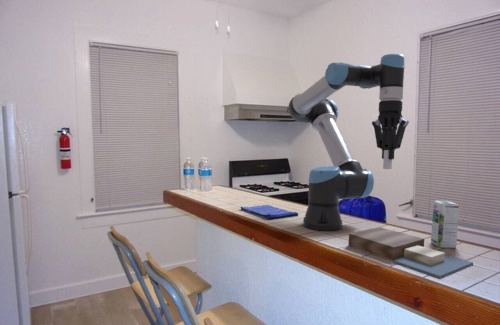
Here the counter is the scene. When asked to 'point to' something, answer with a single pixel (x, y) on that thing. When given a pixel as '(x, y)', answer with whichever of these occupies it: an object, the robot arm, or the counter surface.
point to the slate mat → (435, 265)
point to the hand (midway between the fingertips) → (387, 168)
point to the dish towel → (269, 212)
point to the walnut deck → (383, 242)
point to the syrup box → (445, 224)
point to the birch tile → (424, 254)
